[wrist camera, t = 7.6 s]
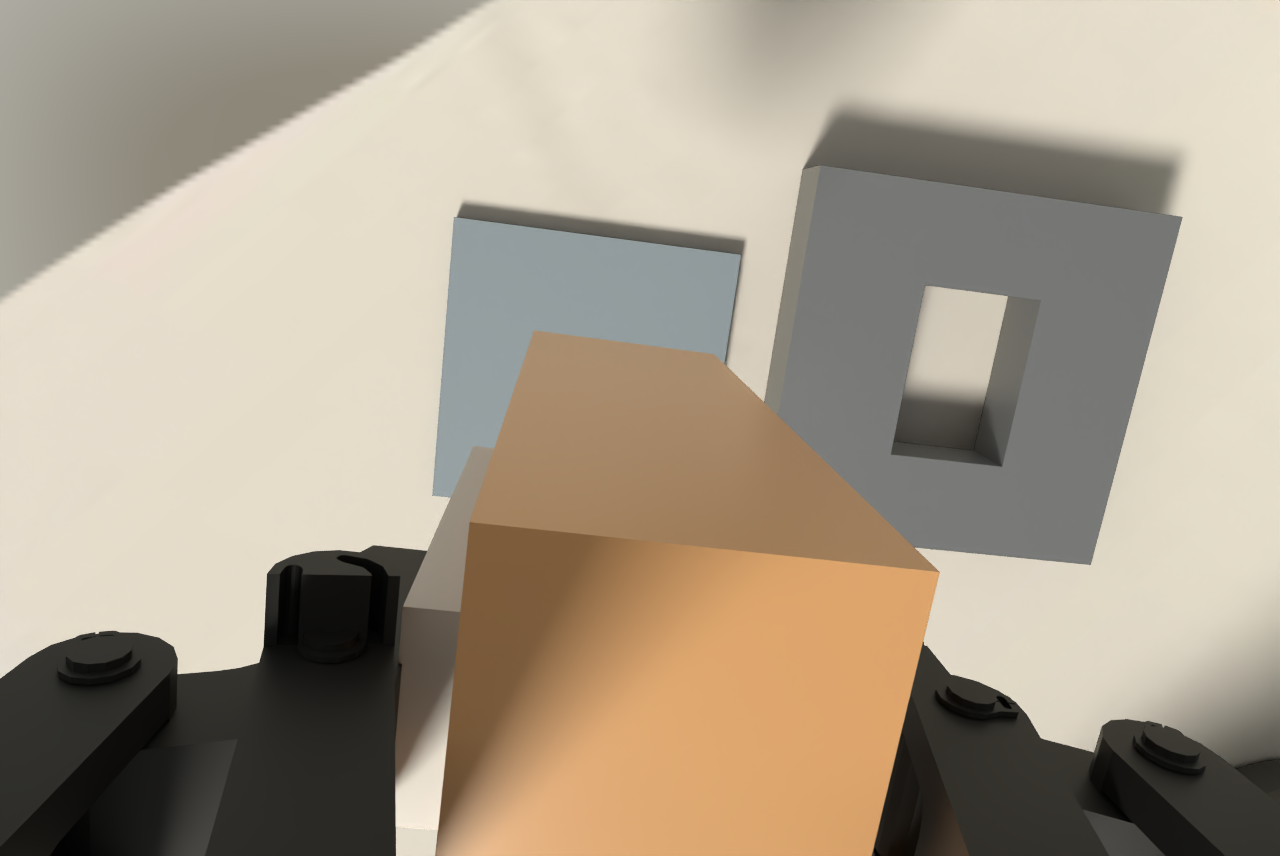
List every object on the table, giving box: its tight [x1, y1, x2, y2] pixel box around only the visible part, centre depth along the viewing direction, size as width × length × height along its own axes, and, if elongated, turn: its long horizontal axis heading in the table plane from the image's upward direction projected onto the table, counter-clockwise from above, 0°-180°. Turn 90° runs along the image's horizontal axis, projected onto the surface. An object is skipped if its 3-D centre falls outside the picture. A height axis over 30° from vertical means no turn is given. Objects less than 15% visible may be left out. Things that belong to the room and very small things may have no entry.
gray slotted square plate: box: [764, 165, 1182, 565], centre depth 34 cm, size 14×14×2 cm
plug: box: [435, 330, 940, 856], centre depth 14 cm, size 4×6×12 cm, turn 172°
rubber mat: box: [432, 217, 741, 497], centre depth 34 cm, size 11×11×1 cm
